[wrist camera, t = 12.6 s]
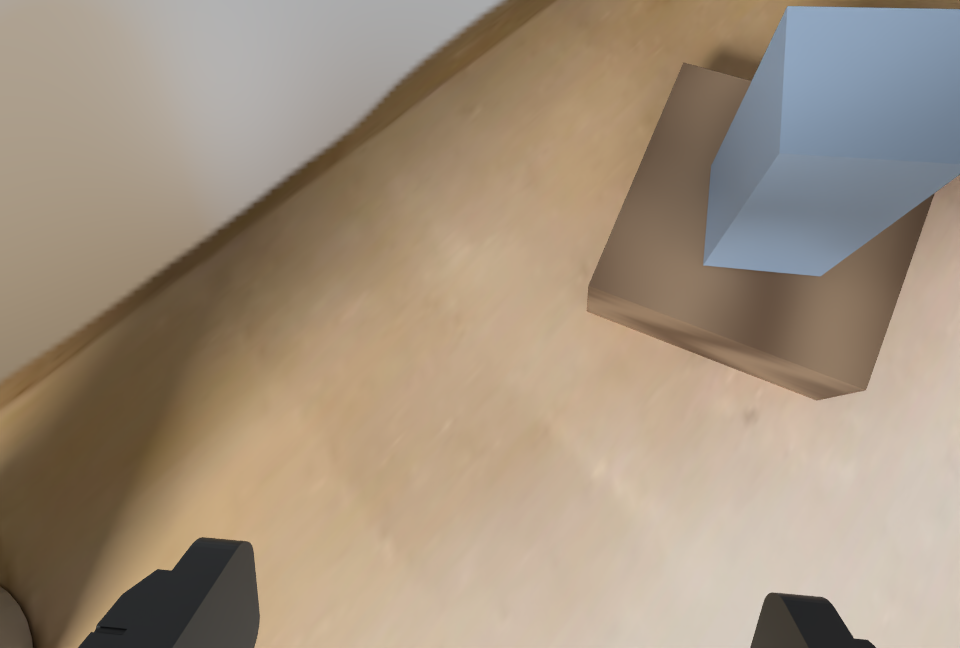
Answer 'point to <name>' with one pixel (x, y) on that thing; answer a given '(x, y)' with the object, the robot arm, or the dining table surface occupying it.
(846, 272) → the walnut block
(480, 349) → the dining table surface
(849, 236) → the blue block
